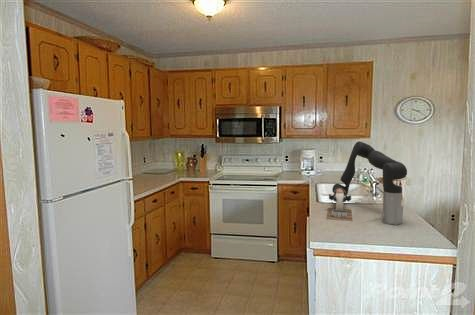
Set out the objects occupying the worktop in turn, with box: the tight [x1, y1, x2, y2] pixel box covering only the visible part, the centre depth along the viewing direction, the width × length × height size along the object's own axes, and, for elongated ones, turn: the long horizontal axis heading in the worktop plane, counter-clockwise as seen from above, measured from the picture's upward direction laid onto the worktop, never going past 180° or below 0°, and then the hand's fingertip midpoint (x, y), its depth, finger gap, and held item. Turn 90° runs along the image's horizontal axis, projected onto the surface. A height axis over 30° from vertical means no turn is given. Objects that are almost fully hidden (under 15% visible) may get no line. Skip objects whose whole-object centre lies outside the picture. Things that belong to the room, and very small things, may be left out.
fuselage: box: [335, 189, 345, 210], centre depth 195 cm, size 4×4×14 cm
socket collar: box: [332, 208, 347, 218], centre depth 187 cm, size 8×8×3 cm
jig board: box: [325, 207, 353, 222], centre depth 191 cm, size 26×14×1 cm, turn 162°
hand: (339, 200), depth 192 cm, fingers closed on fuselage, 4 cm apart
